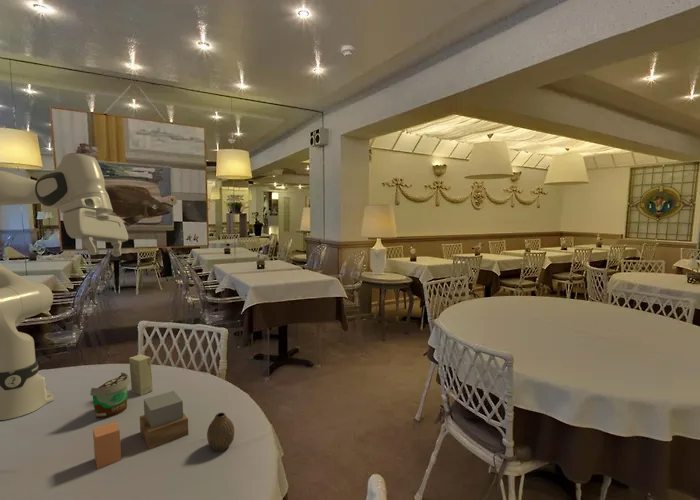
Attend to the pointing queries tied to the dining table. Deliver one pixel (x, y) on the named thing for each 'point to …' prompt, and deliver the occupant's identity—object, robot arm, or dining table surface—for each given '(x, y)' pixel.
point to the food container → (111, 397)
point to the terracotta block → (107, 444)
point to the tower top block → (163, 409)
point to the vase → (220, 432)
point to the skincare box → (140, 374)
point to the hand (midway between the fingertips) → (106, 255)
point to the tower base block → (163, 431)
